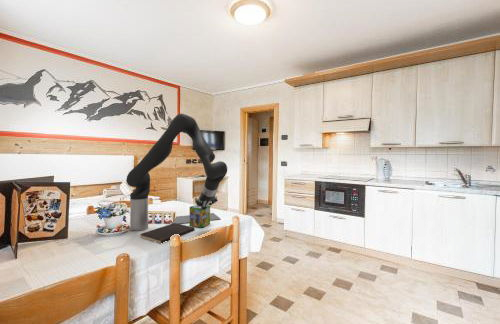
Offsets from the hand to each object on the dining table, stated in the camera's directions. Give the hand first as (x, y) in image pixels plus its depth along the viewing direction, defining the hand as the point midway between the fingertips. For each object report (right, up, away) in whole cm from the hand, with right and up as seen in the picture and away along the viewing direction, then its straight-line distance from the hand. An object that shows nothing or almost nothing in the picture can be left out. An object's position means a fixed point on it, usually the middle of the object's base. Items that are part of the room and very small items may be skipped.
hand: (203, 208), depth 139 cm
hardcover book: (-17, -13, -8) cm, 23 cm away
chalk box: (-4, -12, +8) cm, 14 cm away
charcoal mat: (-10, -11, +21) cm, 25 cm away
